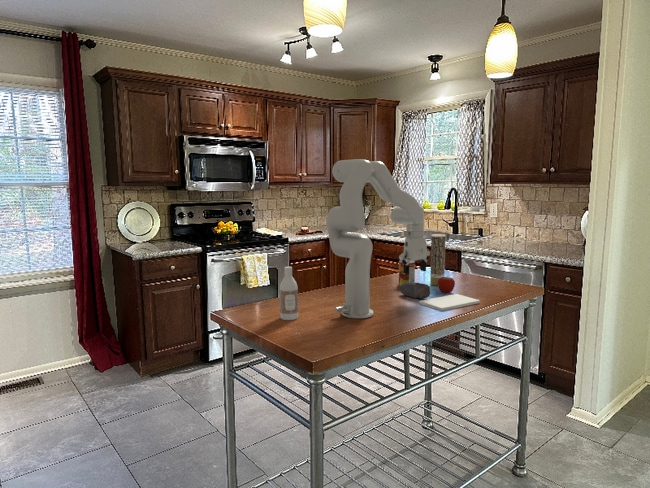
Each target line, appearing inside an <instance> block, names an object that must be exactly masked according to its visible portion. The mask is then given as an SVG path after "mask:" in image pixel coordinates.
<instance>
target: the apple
mask: <svg viewBox="0 0 650 488" xmlns="http://www.w3.org/2000/svg"><path fill="white" fill-rule="evenodd" d="M455 286H456V282H455V279H454V278H453V277H450V276H449V277H448V276H444V277H441V278H440V279H439V280H438V286H437V287H438V290H439V291H440V292H441V293H442V294H451V293H452V292H453V290H454V289H455Z"/></svg>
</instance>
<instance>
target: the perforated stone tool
mask: <svg viewBox="0 0 650 488" xmlns="http://www.w3.org/2000/svg"><path fill="white" fill-rule="evenodd" d="M399 291H400V293H401V294H402V295H404V296H405V297H407V296H408V297H410V298H412V299H417V298H418V299H420V300H425V299H428V297H430V294H431V287H430V286H429V285H428V284H426V283H422V282H421V283H420V282H415V283H414V282H408V283H404V284H402V285H401V286H399Z"/></svg>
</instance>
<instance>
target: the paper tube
mask: <svg viewBox="0 0 650 488" xmlns="http://www.w3.org/2000/svg"><path fill="white" fill-rule="evenodd" d="M430 239H431V240H430V273H429V274H430V276H429V277H430V278H429V279H430V282H429V284H430V285H432V286H435V287H438V280H439V279H440V278H441V277H445V273H446V272H445V271H446V268H445V267H446V240H447V239H446V234H443V233H441V234H440V233H434V234H431V238H430Z"/></svg>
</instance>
